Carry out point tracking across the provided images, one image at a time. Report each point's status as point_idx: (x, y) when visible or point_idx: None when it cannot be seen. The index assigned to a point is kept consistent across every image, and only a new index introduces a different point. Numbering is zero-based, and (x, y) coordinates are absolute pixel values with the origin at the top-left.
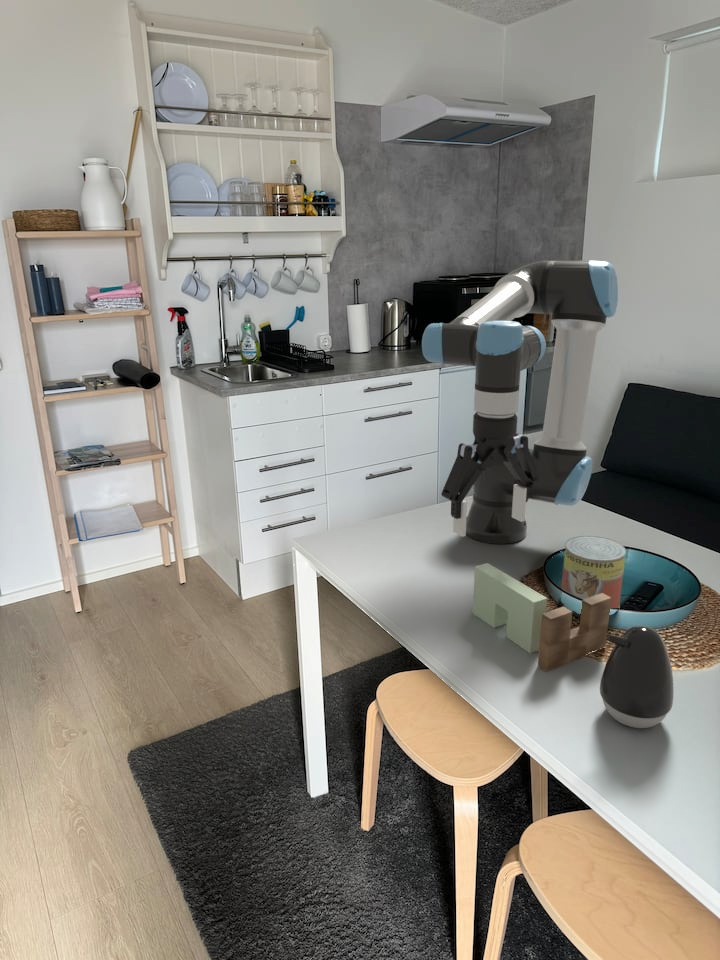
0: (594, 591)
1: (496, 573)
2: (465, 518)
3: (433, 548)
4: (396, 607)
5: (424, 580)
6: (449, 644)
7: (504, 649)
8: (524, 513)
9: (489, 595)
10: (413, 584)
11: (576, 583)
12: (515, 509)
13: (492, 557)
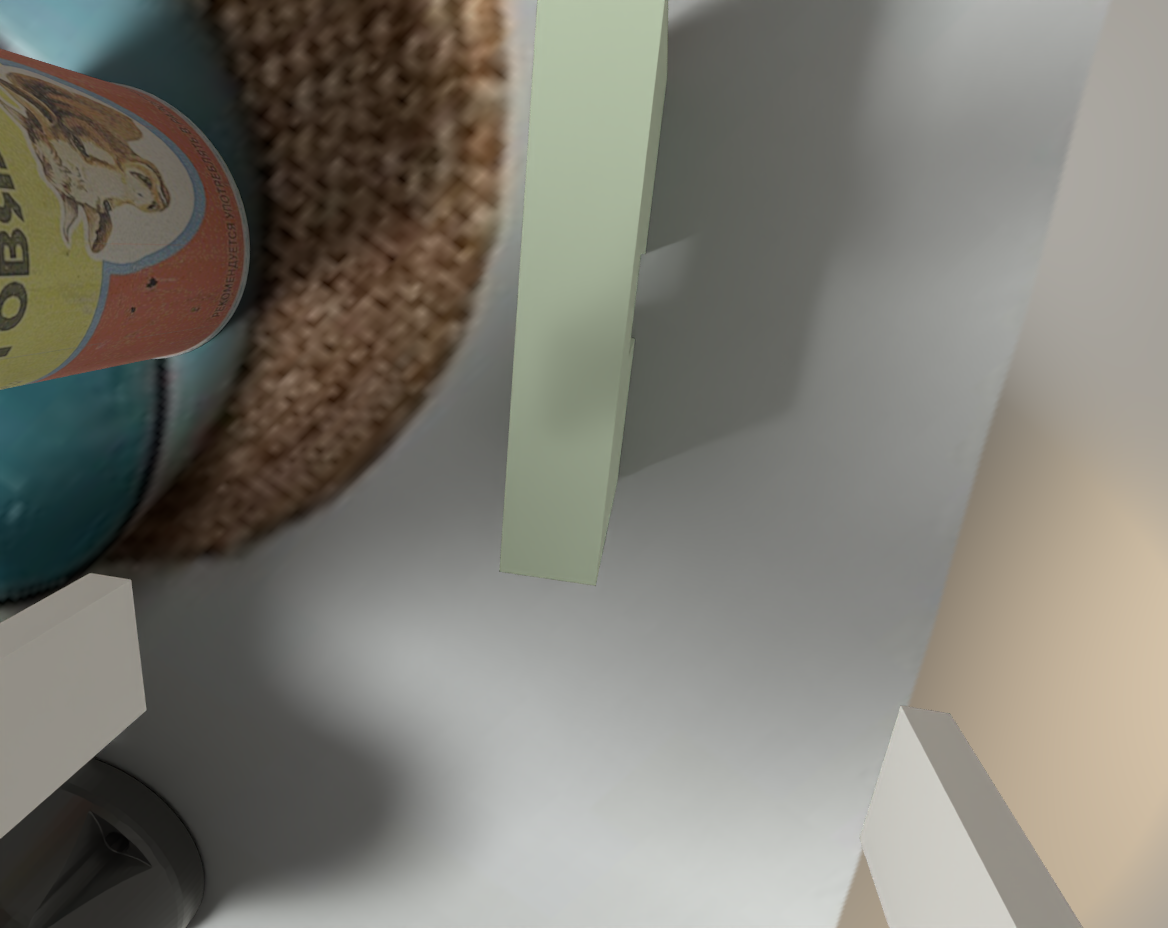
0: (93, 105)
1: (556, 443)
2: (1020, 911)
3: (382, 902)
4: (832, 695)
5: (586, 767)
6: (891, 361)
7: (733, 178)
8: (12, 621)
9: (621, 411)
10: (644, 772)
11: (133, 204)
12: (50, 740)
13: (232, 728)
